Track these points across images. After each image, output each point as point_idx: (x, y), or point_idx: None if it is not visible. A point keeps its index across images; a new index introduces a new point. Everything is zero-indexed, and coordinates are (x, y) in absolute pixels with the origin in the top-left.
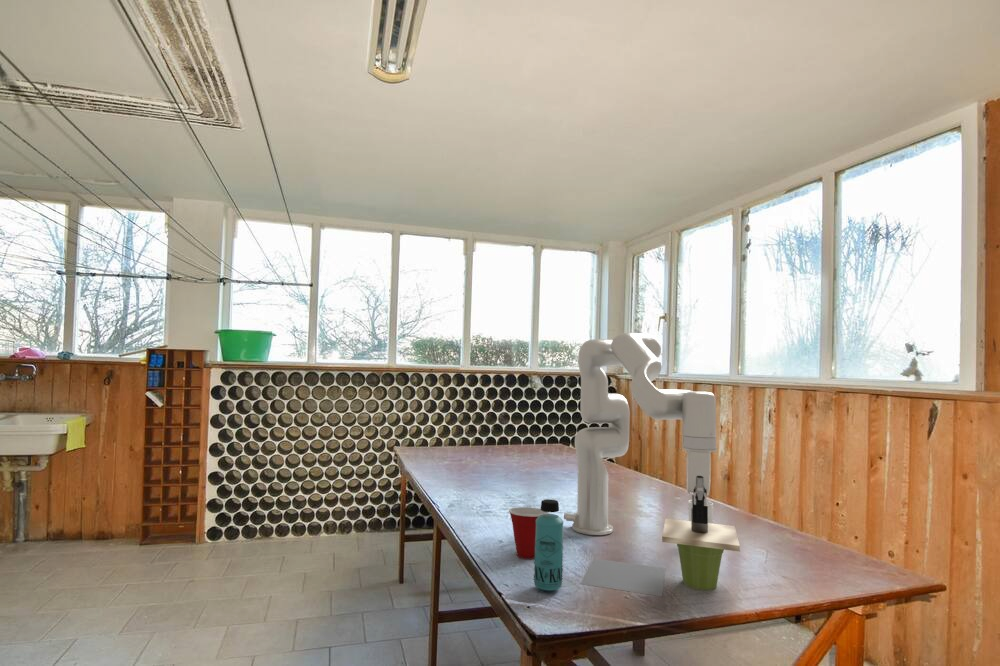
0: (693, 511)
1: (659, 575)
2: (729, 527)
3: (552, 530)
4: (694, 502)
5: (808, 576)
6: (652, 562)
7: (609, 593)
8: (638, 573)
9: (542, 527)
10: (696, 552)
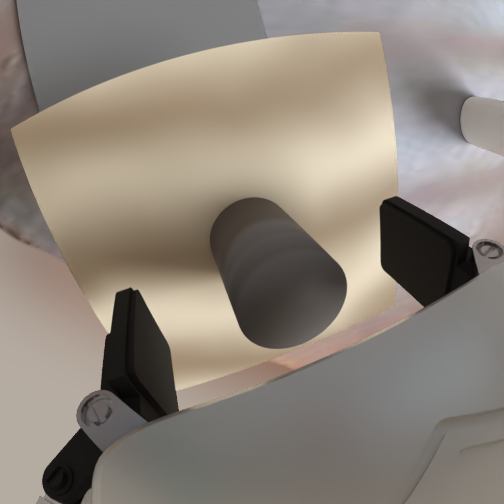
0: (112, 343)
1: None
2: (371, 303)
3: None
4: (80, 421)
5: (385, 321)
6: (311, 14)
7: (5, 23)
8: (172, 5)
9: None
10: None
